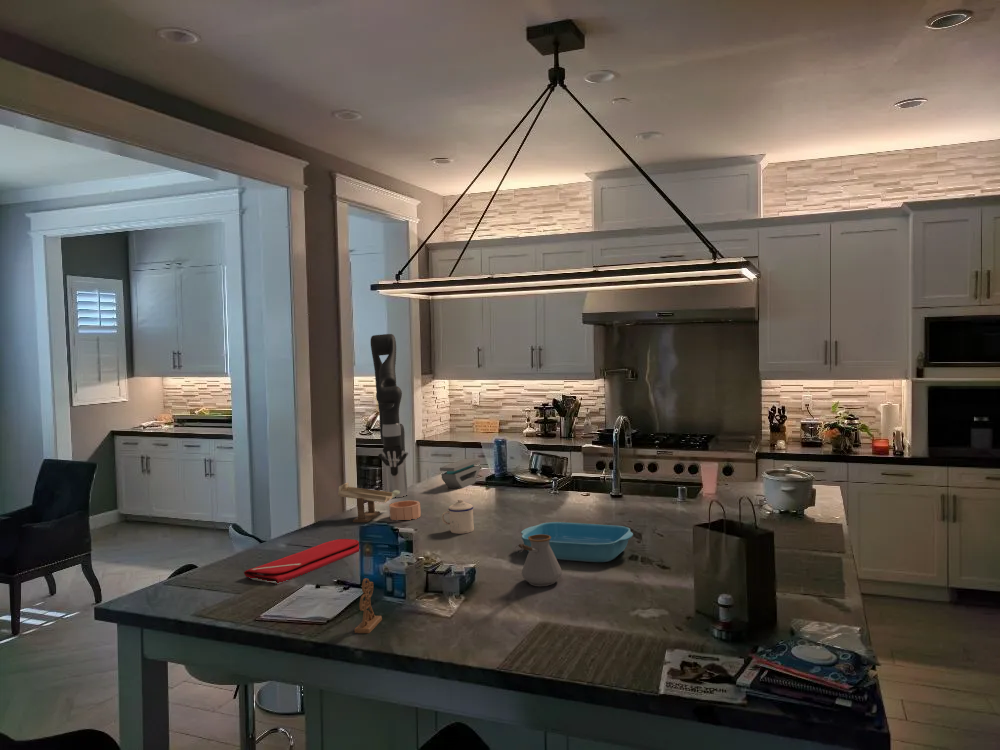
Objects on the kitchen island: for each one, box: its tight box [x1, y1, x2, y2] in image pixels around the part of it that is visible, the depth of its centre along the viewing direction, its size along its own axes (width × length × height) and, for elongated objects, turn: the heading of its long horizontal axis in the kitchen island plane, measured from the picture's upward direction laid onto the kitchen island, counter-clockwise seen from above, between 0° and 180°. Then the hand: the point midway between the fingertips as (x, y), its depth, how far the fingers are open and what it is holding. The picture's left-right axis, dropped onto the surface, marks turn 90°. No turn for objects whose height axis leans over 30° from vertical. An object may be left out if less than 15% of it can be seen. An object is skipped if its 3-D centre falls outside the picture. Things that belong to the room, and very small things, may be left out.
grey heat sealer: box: [439, 457, 481, 489], centre depth 358 cm, size 25×8×11 cm, turn 153°
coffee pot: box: [514, 534, 563, 587], centre depth 206 cm, size 21×12×15 cm, turn 156°
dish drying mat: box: [243, 538, 360, 583], centre depth 244 cm, size 16×41×4 cm, turn 150°
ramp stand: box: [352, 497, 381, 523], centre depth 302 cm, size 14×6×10 cm, turn 169°
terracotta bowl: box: [388, 500, 422, 521], centre depth 299 cm, size 12×12×6 cm
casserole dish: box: [520, 521, 634, 563], centre depth 237 cm, size 37×22×7 cm, turn 62°
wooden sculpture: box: [354, 577, 383, 634], centre depth 186 cm, size 9×4×12 cm, turn 168°
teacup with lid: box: [440, 498, 475, 535], centre depth 273 cm, size 12×9×12 cm
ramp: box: [337, 482, 400, 504], centre depth 307 cm, size 18×20×4 cm
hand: (394, 475), depth 311 cm, fingers closed
